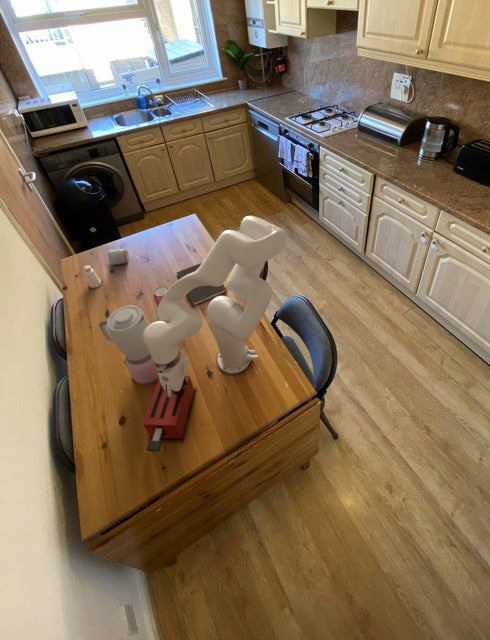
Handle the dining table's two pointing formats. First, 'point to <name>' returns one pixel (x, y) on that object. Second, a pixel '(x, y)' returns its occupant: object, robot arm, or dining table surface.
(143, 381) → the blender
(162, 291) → the soda can
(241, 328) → the robot arm
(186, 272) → the hardcover book
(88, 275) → the pepper shaker
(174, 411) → the toaster
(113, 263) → the ceramic mug
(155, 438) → the bread lever
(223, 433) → the dining table surface
